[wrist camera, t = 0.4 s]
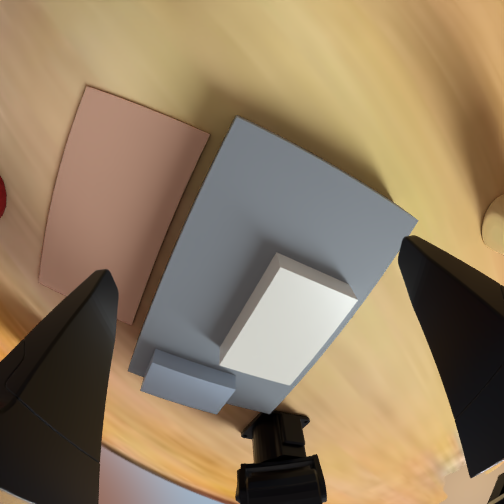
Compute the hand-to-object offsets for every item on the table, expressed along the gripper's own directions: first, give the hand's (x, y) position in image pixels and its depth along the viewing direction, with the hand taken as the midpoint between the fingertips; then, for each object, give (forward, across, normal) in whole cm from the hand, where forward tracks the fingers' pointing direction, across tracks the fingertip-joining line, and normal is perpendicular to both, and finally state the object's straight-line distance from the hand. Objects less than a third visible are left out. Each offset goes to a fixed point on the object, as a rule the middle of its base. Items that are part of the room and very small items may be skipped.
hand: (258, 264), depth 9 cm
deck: (+13, 0, +12) cm, 17 cm away
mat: (+14, +11, +5) cm, 18 cm away
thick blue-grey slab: (+8, +6, +18) cm, 20 cm away
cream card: (+8, -2, +12) cm, 15 cm away
